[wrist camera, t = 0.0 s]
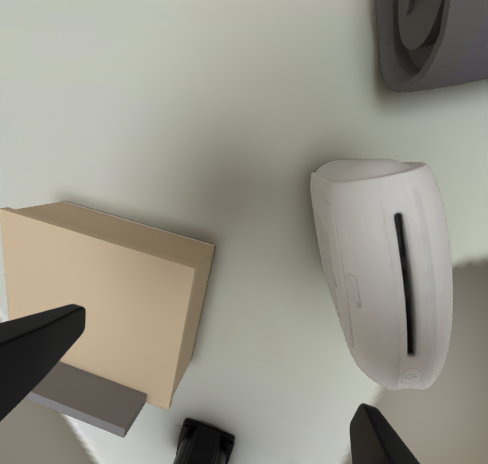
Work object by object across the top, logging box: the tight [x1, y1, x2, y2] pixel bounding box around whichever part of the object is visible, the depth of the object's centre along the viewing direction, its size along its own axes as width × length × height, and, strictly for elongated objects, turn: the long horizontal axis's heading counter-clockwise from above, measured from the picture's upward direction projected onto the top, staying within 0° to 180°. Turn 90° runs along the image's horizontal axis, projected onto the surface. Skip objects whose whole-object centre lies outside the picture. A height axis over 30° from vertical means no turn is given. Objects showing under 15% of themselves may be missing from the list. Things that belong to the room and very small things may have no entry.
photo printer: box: [310, 159, 453, 390], centre depth 14 cm, size 10×4×12 cm, turn 13°
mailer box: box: [15, 201, 215, 392], centre depth 23 cm, size 14×16×5 cm
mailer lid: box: [0, 207, 198, 438], centre depth 19 cm, size 14×16×4 cm
